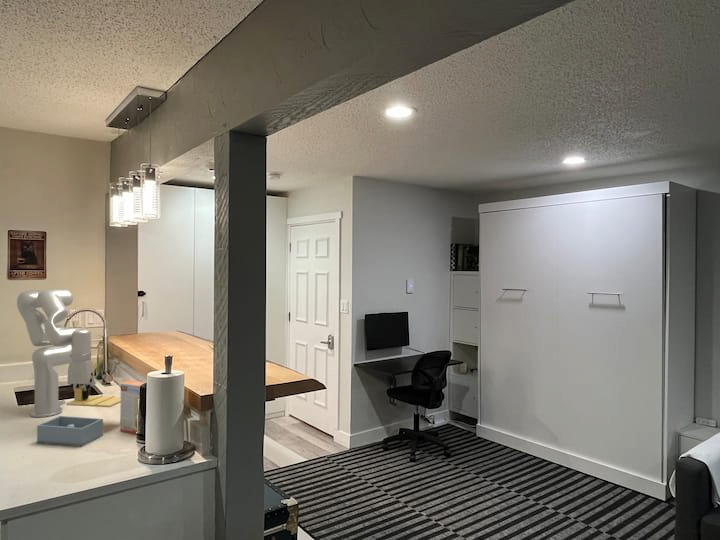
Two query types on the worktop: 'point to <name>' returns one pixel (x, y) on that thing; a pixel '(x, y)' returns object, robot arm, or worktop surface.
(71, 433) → the tub
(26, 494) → the worktop surface
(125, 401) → the cracker box
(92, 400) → the lid
